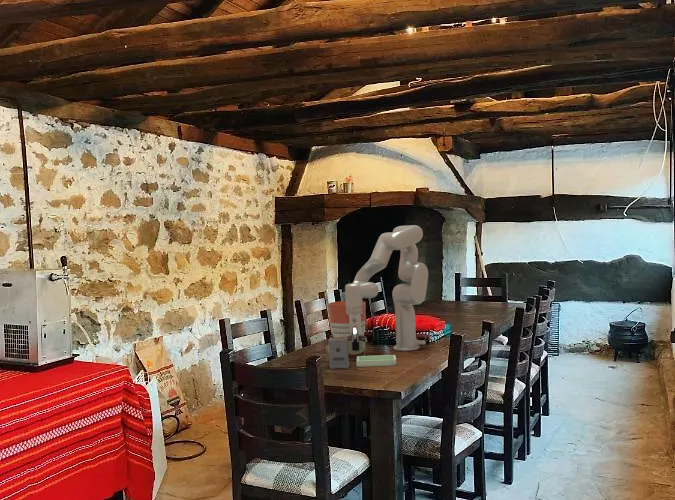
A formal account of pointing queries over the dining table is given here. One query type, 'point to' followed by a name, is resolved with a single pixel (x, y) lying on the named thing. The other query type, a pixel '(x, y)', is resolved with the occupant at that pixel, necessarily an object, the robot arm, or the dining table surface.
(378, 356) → the tray
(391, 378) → the dining table surface
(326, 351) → the walnut cartridge
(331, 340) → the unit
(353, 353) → the food container
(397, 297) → the robot arm
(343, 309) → the planter
